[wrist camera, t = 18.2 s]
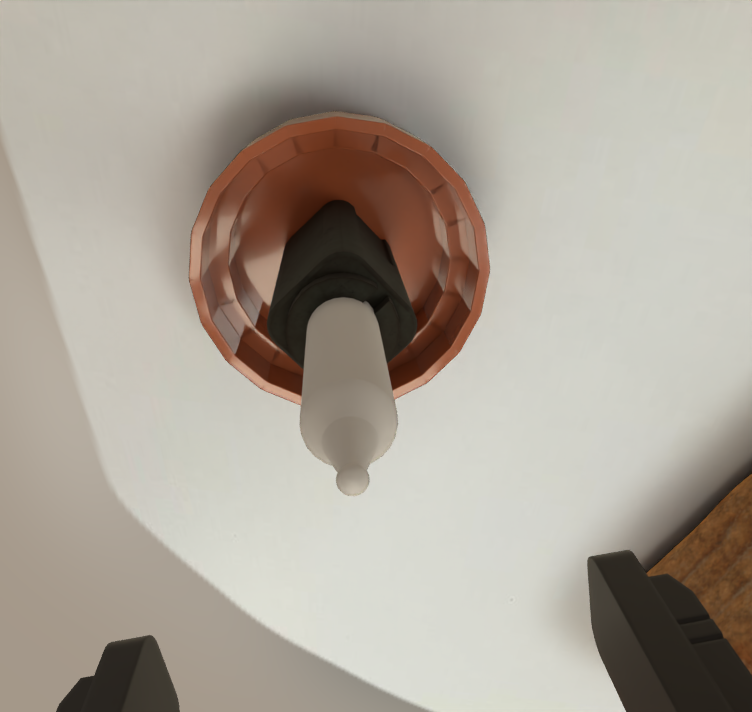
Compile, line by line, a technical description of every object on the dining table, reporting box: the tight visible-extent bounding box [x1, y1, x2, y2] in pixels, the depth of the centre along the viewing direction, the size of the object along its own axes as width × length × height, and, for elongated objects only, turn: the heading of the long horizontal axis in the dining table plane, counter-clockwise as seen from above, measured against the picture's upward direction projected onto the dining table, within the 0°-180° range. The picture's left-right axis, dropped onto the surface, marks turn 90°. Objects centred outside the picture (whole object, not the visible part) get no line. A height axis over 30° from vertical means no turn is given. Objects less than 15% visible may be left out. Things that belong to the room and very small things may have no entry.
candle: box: [267, 200, 417, 496], centre depth 29 cm, size 5×5×25 cm
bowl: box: [189, 111, 490, 405], centre depth 39 cm, size 15×15×6 cm
